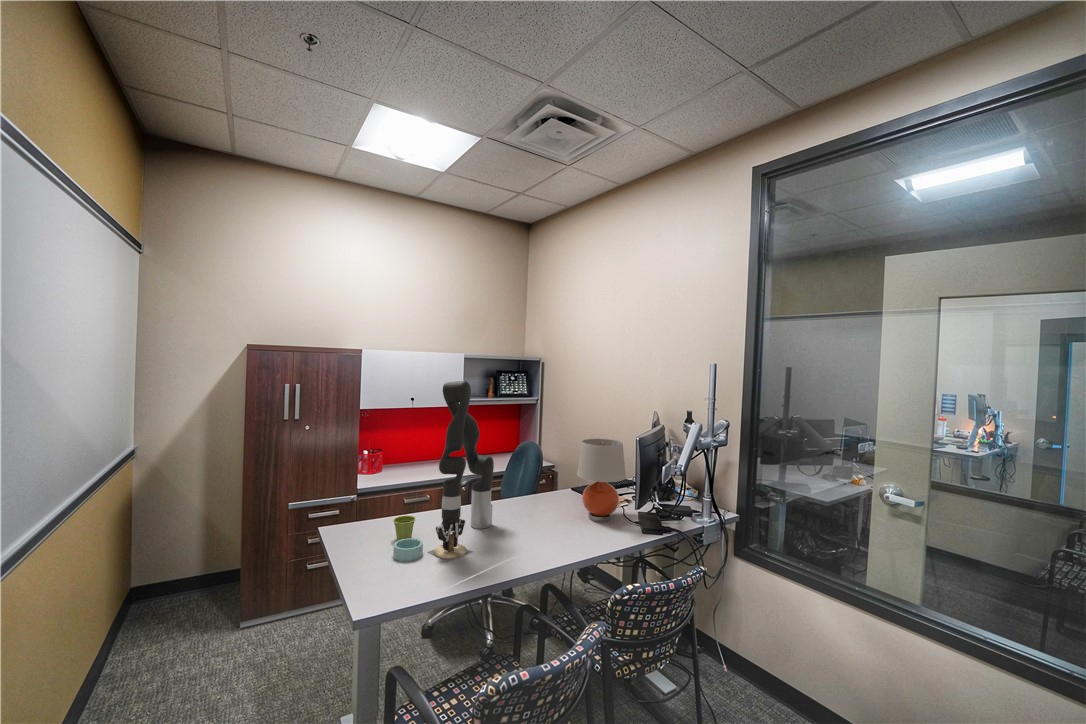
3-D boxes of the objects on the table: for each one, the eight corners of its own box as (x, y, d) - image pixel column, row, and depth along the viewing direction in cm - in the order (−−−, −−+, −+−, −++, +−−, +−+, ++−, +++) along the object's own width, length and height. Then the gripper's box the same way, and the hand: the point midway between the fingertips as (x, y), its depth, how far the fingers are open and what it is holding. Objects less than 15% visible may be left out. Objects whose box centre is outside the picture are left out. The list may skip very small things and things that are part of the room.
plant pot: (392, 544, 193) (392, 523, 193) (393, 535, 202) (393, 516, 202) (415, 542, 196) (415, 522, 196) (415, 534, 205) (415, 514, 205)
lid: (452, 542, 195) (452, 527, 195) (472, 551, 187) (473, 535, 187) (426, 552, 185) (427, 535, 185) (447, 561, 177) (448, 544, 177)
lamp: (565, 516, 234) (568, 440, 234) (597, 506, 251) (599, 436, 251) (602, 530, 216) (605, 448, 216) (634, 519, 233) (636, 443, 232)
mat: (452, 544, 195) (452, 542, 195) (472, 553, 187) (472, 551, 187) (426, 553, 185) (426, 552, 185) (447, 563, 177) (447, 561, 177)
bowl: (411, 548, 190) (411, 536, 190) (427, 555, 183) (428, 543, 183) (387, 556, 181) (388, 543, 181) (404, 565, 174) (404, 551, 174)
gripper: (458, 500, 194) (457, 540, 194) (431, 507, 183) (430, 550, 183) (470, 503, 189) (469, 545, 189) (443, 512, 178) (442, 556, 178)
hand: (450, 547), depth 186 cm, fingers open, 3 cm apart
